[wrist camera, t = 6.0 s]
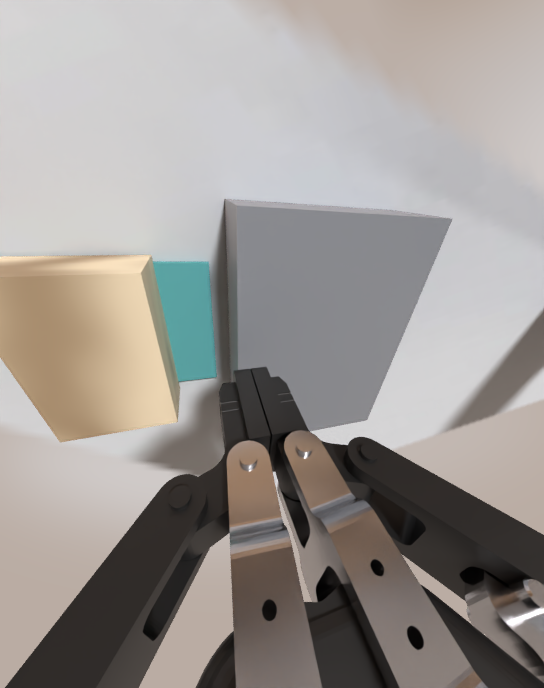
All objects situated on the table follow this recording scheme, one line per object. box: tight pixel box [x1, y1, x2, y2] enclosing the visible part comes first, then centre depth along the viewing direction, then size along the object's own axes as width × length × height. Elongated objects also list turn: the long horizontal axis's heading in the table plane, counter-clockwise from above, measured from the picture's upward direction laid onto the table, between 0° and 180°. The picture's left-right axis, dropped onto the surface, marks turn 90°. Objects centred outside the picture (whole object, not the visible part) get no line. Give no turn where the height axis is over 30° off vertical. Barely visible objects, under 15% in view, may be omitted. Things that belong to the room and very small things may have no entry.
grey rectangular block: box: [225, 199, 452, 431], centre depth 15 cm, size 10×14×4 cm
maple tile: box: [0, 255, 180, 442], centre depth 12 cm, size 6×9×3 cm, turn 177°
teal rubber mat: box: [153, 262, 217, 382], centre depth 14 cm, size 10×8×1 cm
